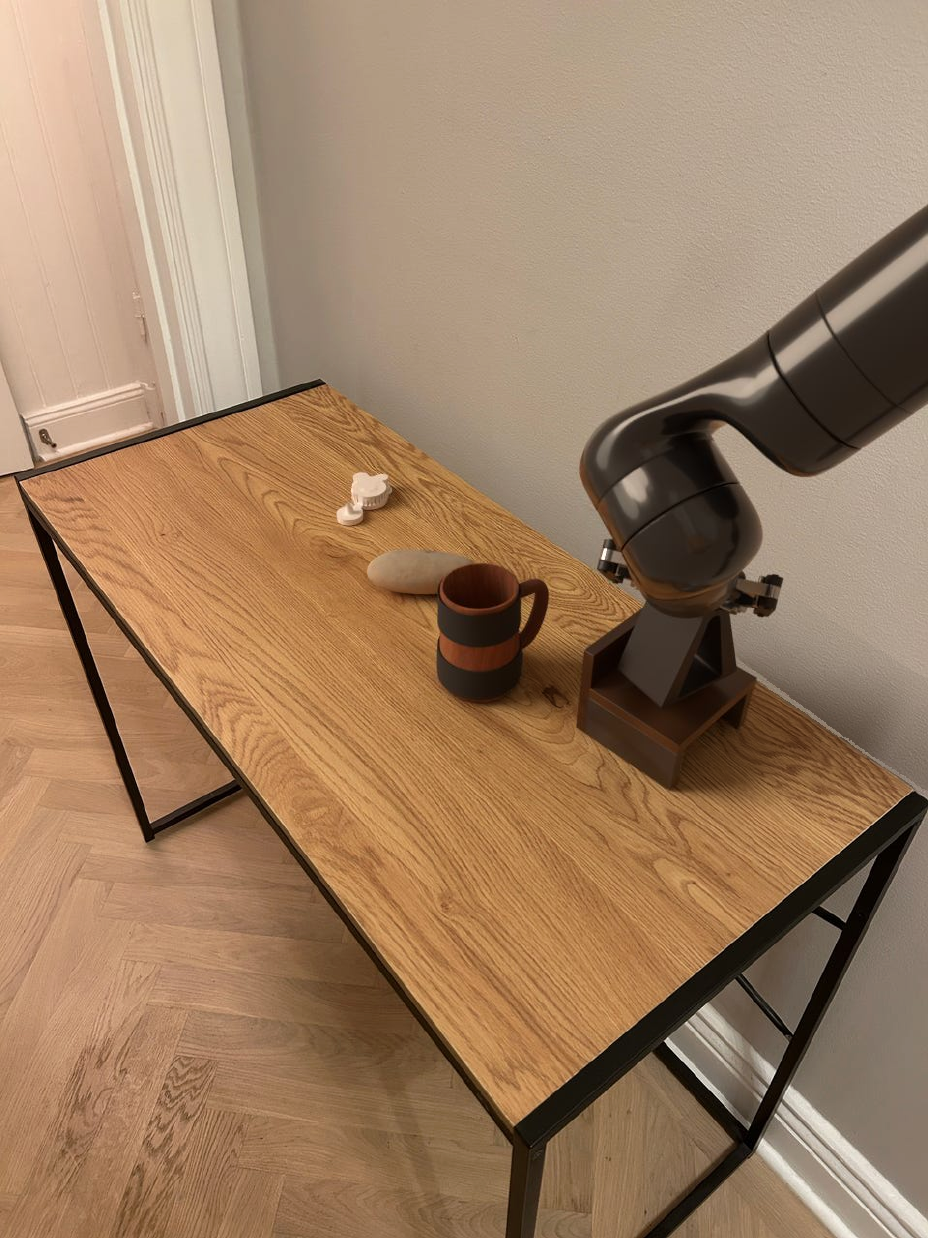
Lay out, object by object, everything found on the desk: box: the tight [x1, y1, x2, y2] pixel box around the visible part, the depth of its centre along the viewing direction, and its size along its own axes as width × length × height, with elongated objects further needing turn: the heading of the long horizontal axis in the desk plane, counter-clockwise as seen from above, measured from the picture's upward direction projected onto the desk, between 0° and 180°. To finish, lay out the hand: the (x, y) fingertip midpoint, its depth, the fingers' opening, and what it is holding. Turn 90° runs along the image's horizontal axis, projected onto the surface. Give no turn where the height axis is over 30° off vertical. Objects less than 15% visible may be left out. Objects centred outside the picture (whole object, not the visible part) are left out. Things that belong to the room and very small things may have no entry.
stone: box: [366, 548, 475, 595], centre depth 105 cm, size 6×6×12 cm
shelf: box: [575, 606, 758, 792], centre depth 87 cm, size 11×12×10 cm
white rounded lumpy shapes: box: [336, 464, 393, 527], centre depth 119 cm, size 9×9×2 cm
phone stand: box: [617, 600, 738, 709], centre depth 81 cm, size 9×6×12 cm, turn 122°
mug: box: [435, 562, 550, 704], centre depth 92 cm, size 9×12×12 cm
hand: (692, 592), depth 81 cm, fingers closed on phone stand, 6 cm apart
